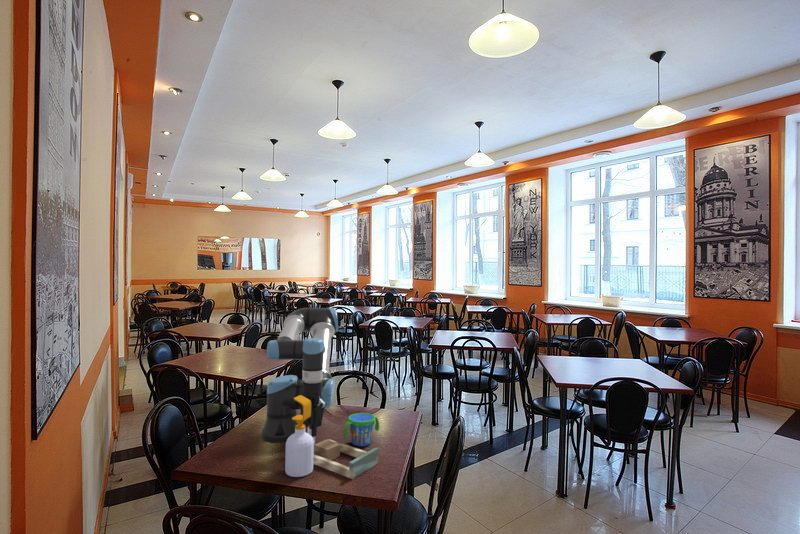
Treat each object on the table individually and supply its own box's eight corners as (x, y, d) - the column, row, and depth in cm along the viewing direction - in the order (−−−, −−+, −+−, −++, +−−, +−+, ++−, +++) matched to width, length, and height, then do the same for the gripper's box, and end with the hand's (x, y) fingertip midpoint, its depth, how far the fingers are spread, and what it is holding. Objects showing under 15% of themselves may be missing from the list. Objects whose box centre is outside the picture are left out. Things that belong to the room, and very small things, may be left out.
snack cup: (372, 434, 167) (372, 409, 168) (385, 443, 159) (386, 417, 159) (337, 442, 159) (337, 416, 159) (349, 453, 150) (349, 425, 150)
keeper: (314, 457, 147) (314, 444, 147) (326, 451, 152) (326, 439, 152) (327, 462, 143) (327, 449, 143) (339, 456, 147) (340, 444, 147)
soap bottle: (296, 462, 142) (297, 391, 142) (318, 467, 138) (319, 395, 139) (279, 474, 134) (281, 399, 134) (302, 480, 130) (304, 402, 130)
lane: (300, 459, 145) (300, 444, 145) (328, 445, 156) (328, 432, 156) (352, 479, 131) (353, 463, 131) (378, 462, 143) (378, 448, 143)
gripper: (292, 380, 152) (291, 443, 152) (317, 385, 145) (316, 452, 145) (307, 376, 158) (306, 437, 158) (332, 381, 151) (331, 445, 151)
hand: (311, 444), depth 151 cm, fingers closed
